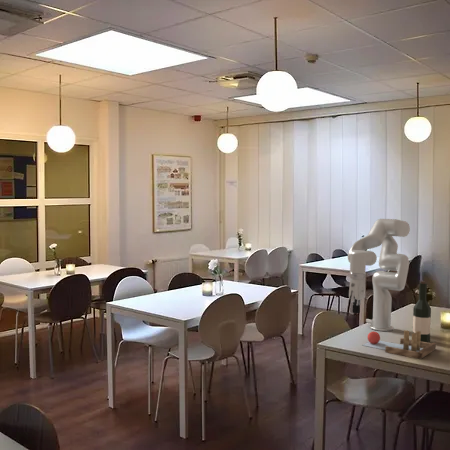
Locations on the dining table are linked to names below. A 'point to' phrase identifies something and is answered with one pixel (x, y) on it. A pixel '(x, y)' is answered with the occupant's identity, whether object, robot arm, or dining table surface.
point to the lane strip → (383, 345)
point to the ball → (373, 337)
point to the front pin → (406, 340)
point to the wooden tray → (421, 354)
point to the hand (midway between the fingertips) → (356, 312)
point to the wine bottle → (422, 314)
